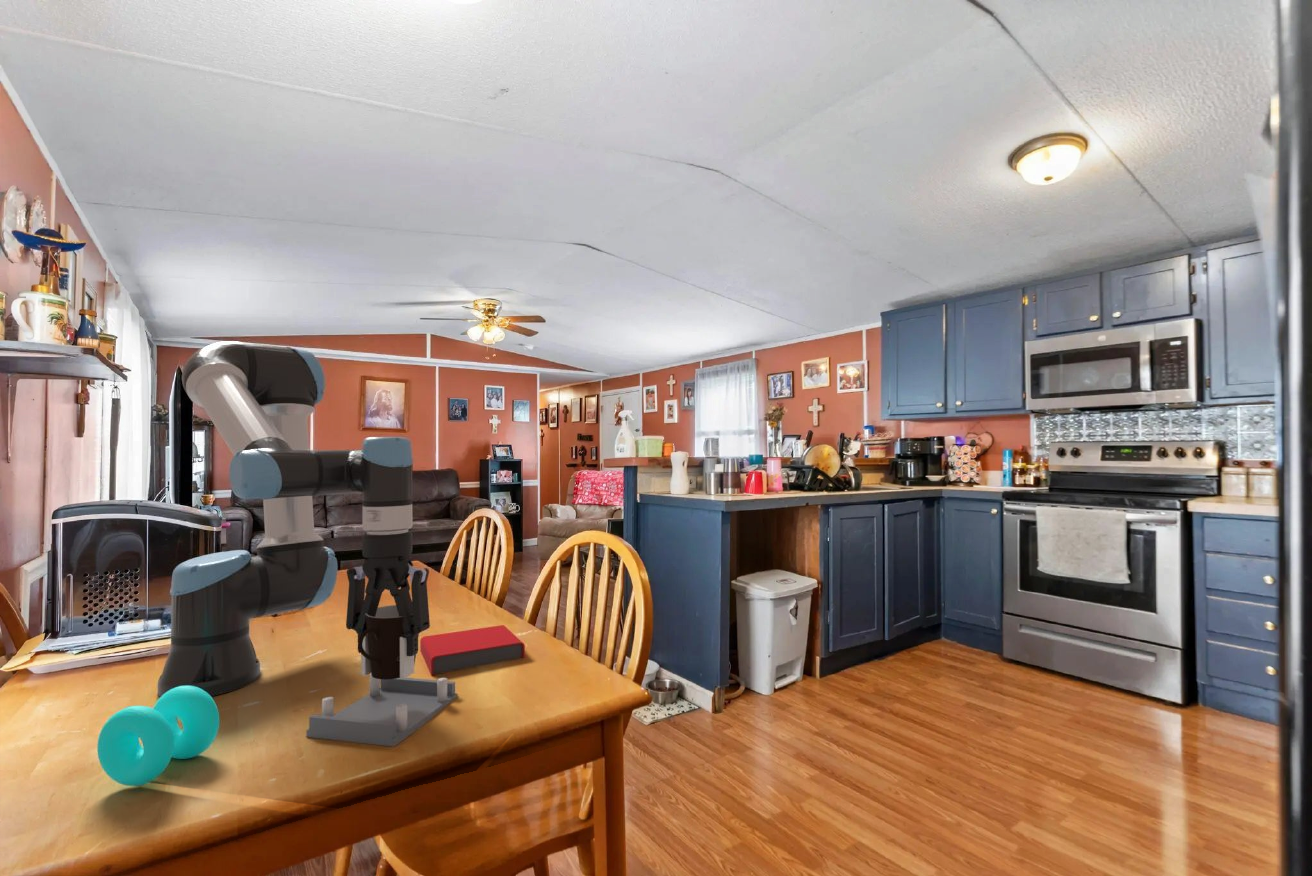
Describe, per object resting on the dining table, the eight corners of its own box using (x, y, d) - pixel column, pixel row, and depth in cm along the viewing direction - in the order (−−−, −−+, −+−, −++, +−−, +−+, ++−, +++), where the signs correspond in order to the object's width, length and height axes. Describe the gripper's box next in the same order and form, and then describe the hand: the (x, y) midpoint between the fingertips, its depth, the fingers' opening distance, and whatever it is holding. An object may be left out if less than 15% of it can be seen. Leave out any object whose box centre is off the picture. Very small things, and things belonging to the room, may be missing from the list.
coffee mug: (404, 659, 107) (405, 601, 107) (431, 671, 101) (432, 610, 102) (335, 678, 98) (336, 615, 98) (360, 692, 93) (361, 625, 93)
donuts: (90, 787, 79) (91, 709, 79) (164, 749, 89) (164, 680, 89) (157, 793, 78) (158, 713, 78) (224, 754, 88) (225, 684, 88)
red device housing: (505, 647, 136) (505, 624, 136) (524, 666, 123) (524, 641, 124) (420, 661, 127) (420, 636, 127) (431, 683, 115) (431, 656, 115)
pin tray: (306, 736, 93) (306, 706, 93) (381, 692, 110) (381, 667, 110) (394, 746, 89) (394, 715, 90) (457, 699, 106) (457, 673, 107)
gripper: (319, 533, 99) (319, 678, 98) (427, 535, 94) (427, 686, 94) (352, 527, 106) (352, 662, 105) (453, 529, 102) (454, 669, 101)
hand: (387, 673), depth 100 cm, fingers closed on coffee mug, 6 cm apart
